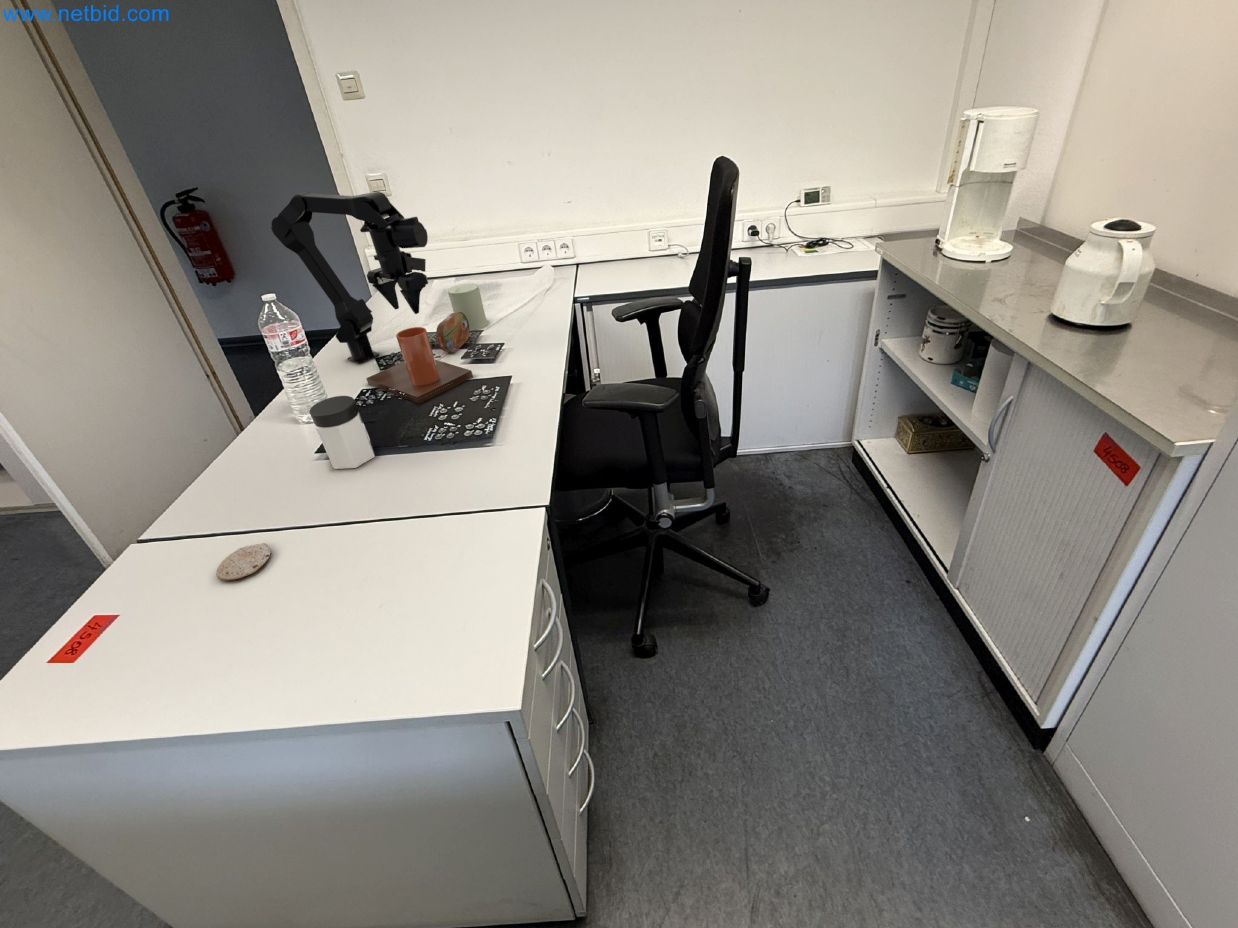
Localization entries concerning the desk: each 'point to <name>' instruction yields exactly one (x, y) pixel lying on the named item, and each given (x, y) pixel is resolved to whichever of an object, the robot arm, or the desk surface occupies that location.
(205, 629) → the desk surface
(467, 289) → the can
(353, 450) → the jar
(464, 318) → the tin
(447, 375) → the board
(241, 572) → the flatbread
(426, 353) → the pen cup
